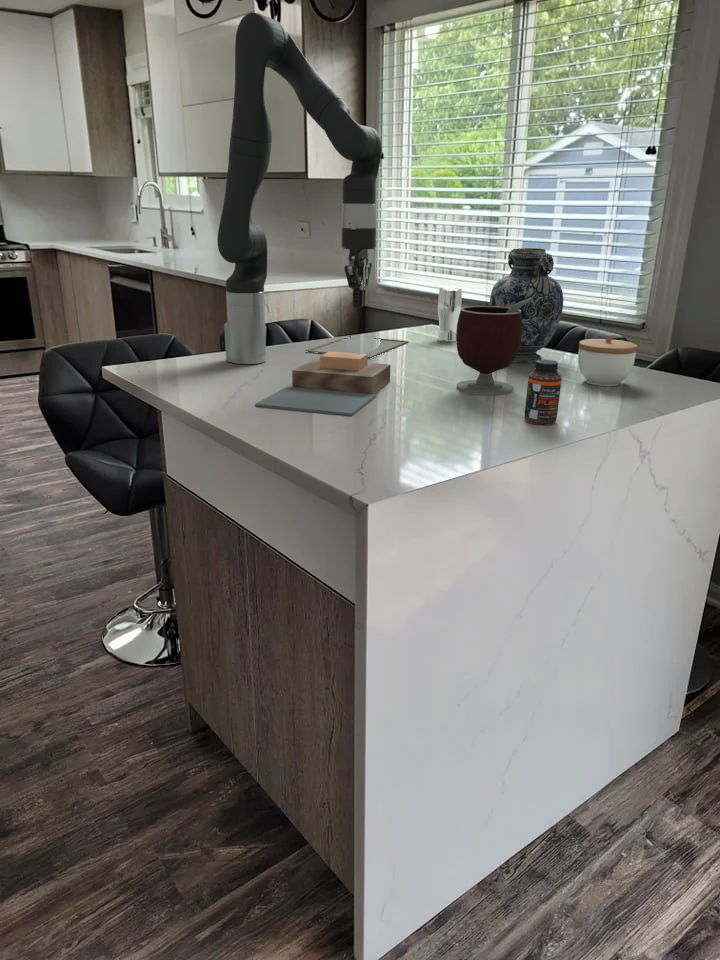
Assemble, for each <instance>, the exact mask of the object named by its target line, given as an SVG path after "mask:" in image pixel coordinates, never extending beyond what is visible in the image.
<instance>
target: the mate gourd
mask: <svg viewBox="0 0 720 960" xmlns="http://www.w3.org/2000/svg"><path fill="white" fill-rule="evenodd" d="M528 302H533V298H530V299H526V300H524V301H521V302H519V303H517V304H515V305H513V306H512V307H511V308H509V307H499V306H490V305H473V306H472V305H471V306H463V307H462V306H461V309H460V310H461V311H460V314H459V318H458V323H457V330H456V341H455V343H456V351H457V355H458V357H459V359H460V361H462V363H463V364H464V365H465V366H466V367H468V368H471V369H473V370H475V371H476V372H478V373H479V375H478V376H477V379H467V380H462V381H460V382H457V383H456V389H457V390H458V391H460V392H463V393H466V394H472V395H477V394H478V396H502V395H507V394H508V393H509V394H511V393H513V392H512V391H513V390H514V386H513V385H512V384H509V383H507V382H504V381H499V380H494V377H493V373H495V372H497V371H500V370H503V369H506V368H508V367H510V366H511V364H512V363H514V362H513V361H514V360H515V359H516V357H517V355H518V352H519V348H520V344H521V339H522V316H521V310H519V308H520V307H521V306H523V305H524V304H526V303H528Z"/></svg>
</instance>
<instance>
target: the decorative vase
mask: <svg viewBox="0 0 720 960" xmlns="http://www.w3.org/2000/svg"><path fill="white" fill-rule="evenodd" d="M546 251H547V250H546V249H545V248H534V247H533V248H532V247H524V248H523V247H522V248H513V249H511V250H510V252H509V253H508V257H507V264H508V267H509V269H510V270H511V271H510V273H509V274H508V275H507V276H504V277H502V278H500V279H499V280H497V281H496V283H495V284H494V285H493V287H492V289H491V292H490V297H489V306H499V307H509V308H511V307H512V306H513V305H515V304H517V303H519V302H521V301H524V300H526V299H530V298H533V302H528V303H526V304H524V305H523V306H521V307H520V308H519V310H521V316H522V339H521V344H520V348H519V352H518V355H517V357H516V359H515V360H514V361H513V362H512V363H517V364H518V363H519V364H520V363H521V364H532V363H533V364H534V363H535V364H536V361H537V360H543V359H542V356H541V355H540V354H539V353H537V352H538V351H540V350H541V349H543V348H545V347H546V346H547V345H548V344H549V343H550V342H551V339H552V338H553V336H554V335H555V332H556V331H557V329H558V326H559V324H560V321H561V318H562V313H563V308H564V294H563V293H564V291H563V289H562V286H561V284H560V283H559V282H558V281H557V280H556V279H555V278H553V277H551V276H549V275H550V274H551V273H552V271H553V270H554V263H555V262H554V258H553V255H552V254H550V253H547V252H546Z"/></svg>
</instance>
